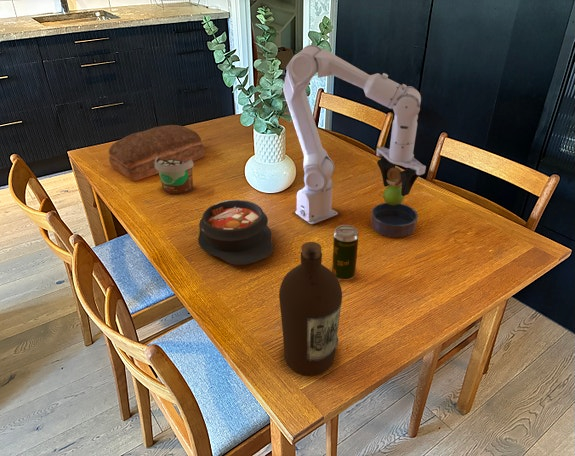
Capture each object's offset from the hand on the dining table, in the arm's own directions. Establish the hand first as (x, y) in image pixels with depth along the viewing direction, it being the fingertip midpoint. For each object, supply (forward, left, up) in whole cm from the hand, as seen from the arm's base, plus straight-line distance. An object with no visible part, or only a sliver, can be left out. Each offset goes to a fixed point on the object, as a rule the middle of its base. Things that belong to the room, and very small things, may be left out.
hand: (396, 189), depth 118 cm
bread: (-37, +75, -10) cm, 84 cm away
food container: (-41, +52, -10) cm, 67 cm away
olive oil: (-46, -24, -10) cm, 53 cm away
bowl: (-1, -1, -10) cm, 10 cm away
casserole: (-39, +17, -10) cm, 44 cm away
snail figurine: (0, 0, -5) cm, 5 cm away
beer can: (-25, -9, -10) cm, 28 cm away
